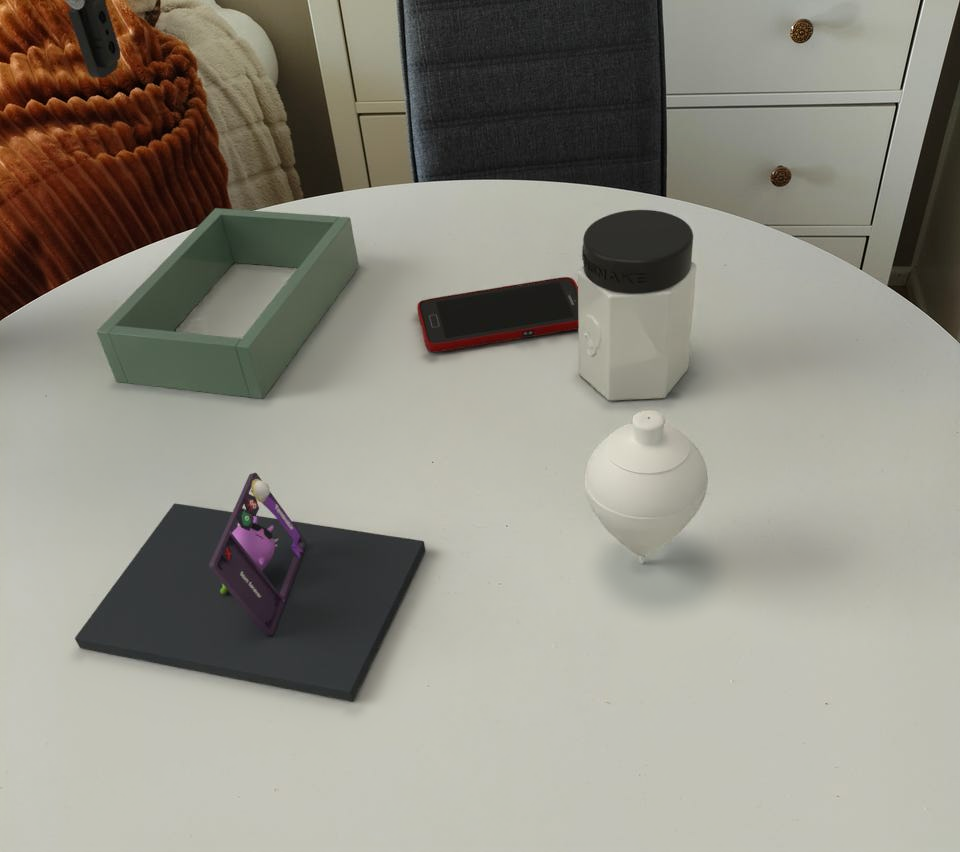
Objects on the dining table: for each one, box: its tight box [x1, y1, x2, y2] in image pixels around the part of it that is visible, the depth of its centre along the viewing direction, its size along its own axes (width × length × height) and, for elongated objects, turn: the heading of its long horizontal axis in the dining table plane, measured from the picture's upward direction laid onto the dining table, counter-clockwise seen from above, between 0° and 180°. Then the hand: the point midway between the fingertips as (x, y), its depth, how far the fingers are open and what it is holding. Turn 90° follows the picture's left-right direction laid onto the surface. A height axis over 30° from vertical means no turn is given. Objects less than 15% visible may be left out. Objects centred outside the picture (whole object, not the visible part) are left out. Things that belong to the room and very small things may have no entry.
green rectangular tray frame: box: [95, 207, 360, 400], centre depth 94 cm, size 14×22×5 cm, turn 163°
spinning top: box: [584, 409, 709, 565], centre depth 66 cm, size 8×8×12 cm
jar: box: [577, 209, 697, 402], centre depth 81 cm, size 9×8×12 cm
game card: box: [209, 472, 306, 636], centre depth 68 cm, size 7×5×9 cm
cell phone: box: [416, 276, 578, 353], centre depth 92 cm, size 8×15×1 cm, turn 100°
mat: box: [74, 502, 426, 702], centre depth 71 cm, size 20×14×1 cm
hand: (45, 71), depth 63 cm, fingers open, 8 cm apart
